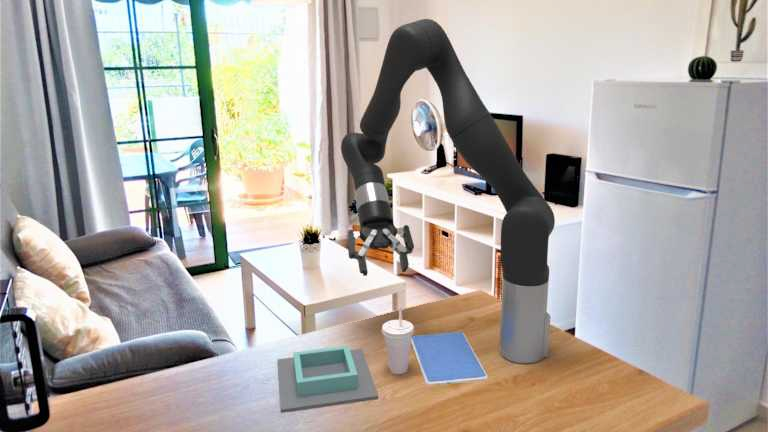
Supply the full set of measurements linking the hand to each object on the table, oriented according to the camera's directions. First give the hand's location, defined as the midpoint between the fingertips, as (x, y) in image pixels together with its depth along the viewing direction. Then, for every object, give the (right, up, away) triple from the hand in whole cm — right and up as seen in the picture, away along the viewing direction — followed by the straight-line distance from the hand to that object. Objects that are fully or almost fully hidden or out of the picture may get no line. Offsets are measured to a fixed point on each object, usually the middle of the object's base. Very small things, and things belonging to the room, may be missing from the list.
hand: (385, 272), depth 123 cm
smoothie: (+3, -19, -6) cm, 20 cm away
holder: (-12, -20, -9) cm, 25 cm away
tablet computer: (+13, -19, -2) cm, 23 cm away
